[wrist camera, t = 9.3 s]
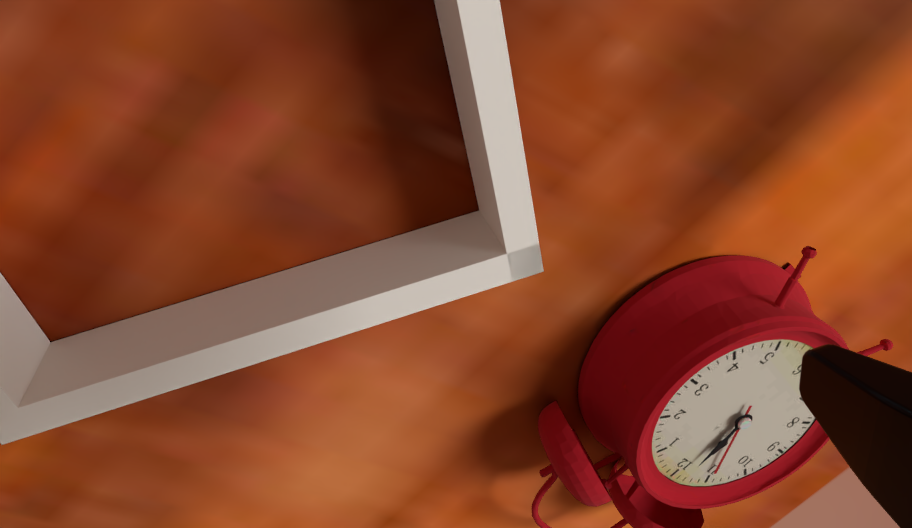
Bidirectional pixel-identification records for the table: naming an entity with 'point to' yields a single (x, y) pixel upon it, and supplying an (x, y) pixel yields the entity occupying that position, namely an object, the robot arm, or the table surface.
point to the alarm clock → (694, 394)
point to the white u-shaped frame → (301, 273)
